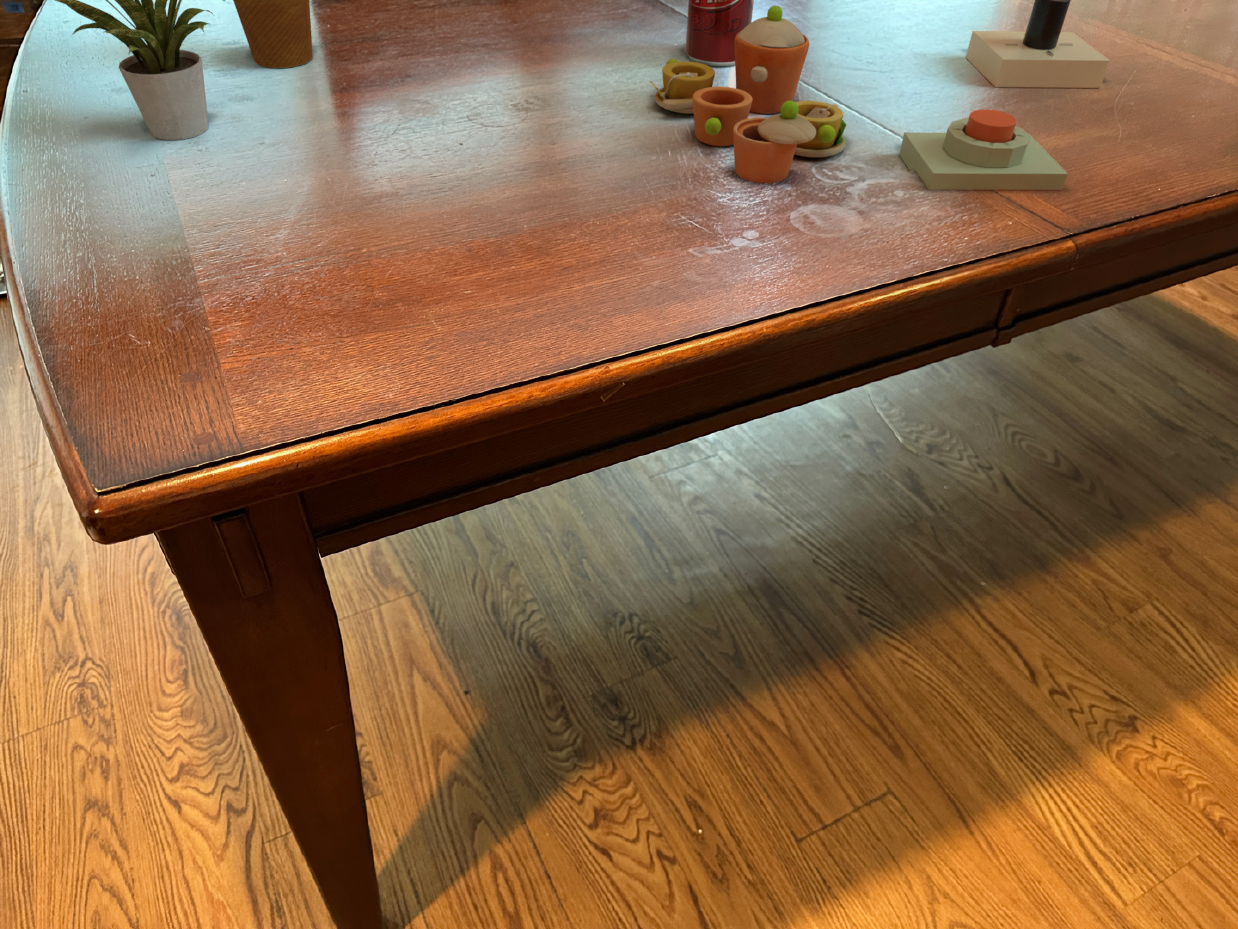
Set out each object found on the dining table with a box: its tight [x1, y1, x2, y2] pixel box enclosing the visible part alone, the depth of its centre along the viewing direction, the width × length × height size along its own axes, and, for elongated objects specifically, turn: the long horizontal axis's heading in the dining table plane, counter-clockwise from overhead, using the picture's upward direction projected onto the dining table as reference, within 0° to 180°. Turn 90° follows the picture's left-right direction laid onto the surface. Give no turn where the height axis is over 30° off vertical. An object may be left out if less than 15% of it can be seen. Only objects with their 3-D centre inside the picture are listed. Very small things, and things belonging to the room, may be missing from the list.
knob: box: [1023, 0, 1072, 50], centre depth 104 cm, size 4×4×5 cm
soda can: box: [684, 0, 755, 67], centre depth 104 cm, size 7×7×12 cm
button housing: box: [898, 117, 1068, 191], centre depth 84 cm, size 12×9×4 cm
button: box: [965, 108, 1018, 143], centre depth 82 cm, size 4×4×2 cm
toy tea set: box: [649, 5, 848, 184], centre depth 88 cm, size 26×16×10 cm, turn 17°
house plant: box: [54, 0, 214, 141], centre depth 84 cm, size 14×14×16 cm
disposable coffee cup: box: [232, 0, 314, 69], centre depth 100 cm, size 10×10×12 cm
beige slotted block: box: [965, 30, 1111, 89], centre depth 106 cm, size 12×10×3 cm
